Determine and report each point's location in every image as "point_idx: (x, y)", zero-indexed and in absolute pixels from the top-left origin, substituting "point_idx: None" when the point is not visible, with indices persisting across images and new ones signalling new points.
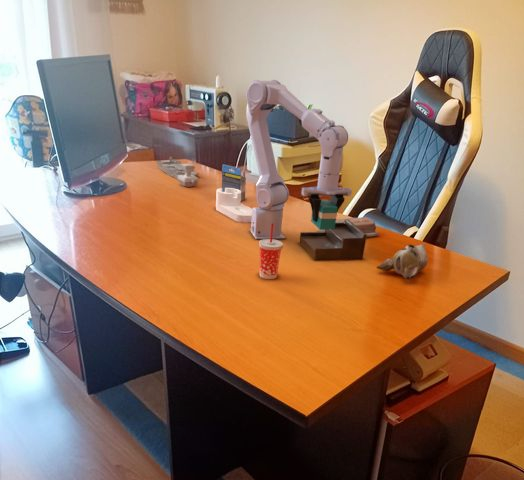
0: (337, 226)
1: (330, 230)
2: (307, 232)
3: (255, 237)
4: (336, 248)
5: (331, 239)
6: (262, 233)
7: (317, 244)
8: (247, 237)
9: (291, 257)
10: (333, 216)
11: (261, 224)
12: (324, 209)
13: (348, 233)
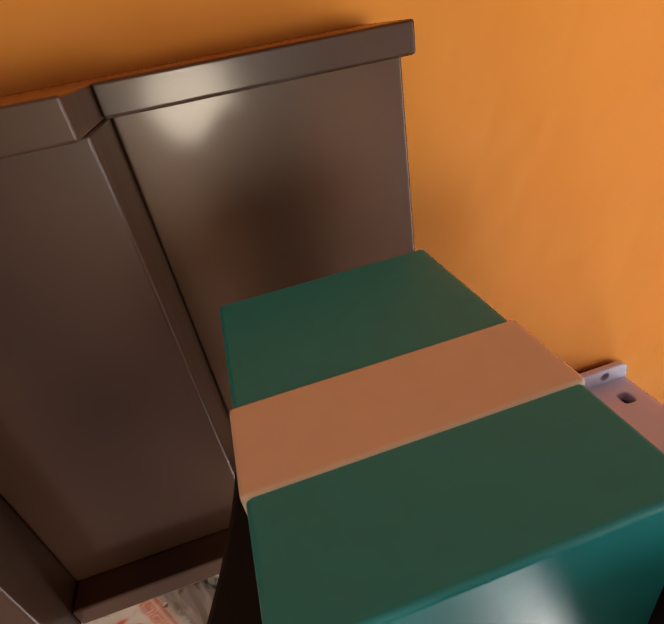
0: (148, 554)
1: (225, 450)
2: None
3: (626, 369)
4: (168, 69)
5: (205, 365)
6: (606, 399)
7: (338, 256)
8: (643, 376)
9: (531, 86)
10: (303, 417)
11: (660, 433)
12: (610, 459)
13: (16, 425)
